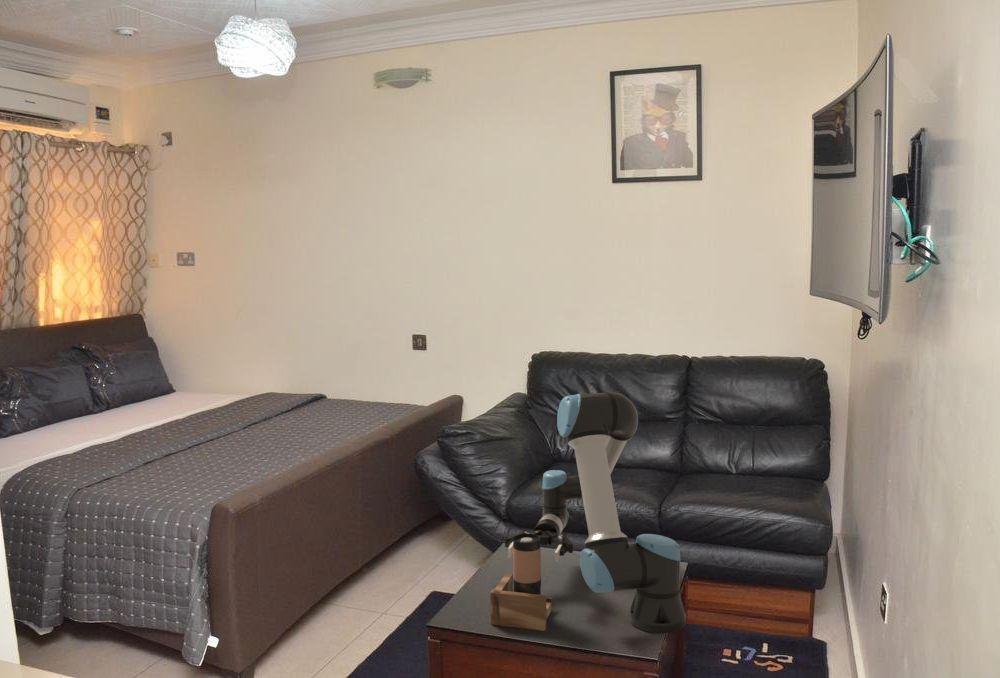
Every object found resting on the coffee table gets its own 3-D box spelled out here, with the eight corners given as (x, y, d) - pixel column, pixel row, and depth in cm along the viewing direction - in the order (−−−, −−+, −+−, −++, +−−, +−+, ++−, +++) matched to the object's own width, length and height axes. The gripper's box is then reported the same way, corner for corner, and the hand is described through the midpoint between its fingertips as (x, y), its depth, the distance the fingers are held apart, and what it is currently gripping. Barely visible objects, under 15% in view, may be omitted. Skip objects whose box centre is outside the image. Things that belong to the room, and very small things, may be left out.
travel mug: (546, 605, 231) (545, 536, 229) (532, 616, 225) (531, 544, 223) (522, 600, 235) (521, 531, 233) (508, 610, 229) (507, 539, 227)
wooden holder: (504, 603, 239) (504, 573, 238) (555, 608, 235) (555, 578, 234) (490, 624, 226) (490, 592, 225) (544, 630, 222) (544, 598, 221)
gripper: (588, 545, 253) (575, 572, 232) (508, 538, 259) (490, 563, 239) (588, 521, 252) (575, 546, 231) (508, 515, 258) (489, 538, 238)
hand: (532, 555), depth 235 cm, fingers open, 13 cm apart
